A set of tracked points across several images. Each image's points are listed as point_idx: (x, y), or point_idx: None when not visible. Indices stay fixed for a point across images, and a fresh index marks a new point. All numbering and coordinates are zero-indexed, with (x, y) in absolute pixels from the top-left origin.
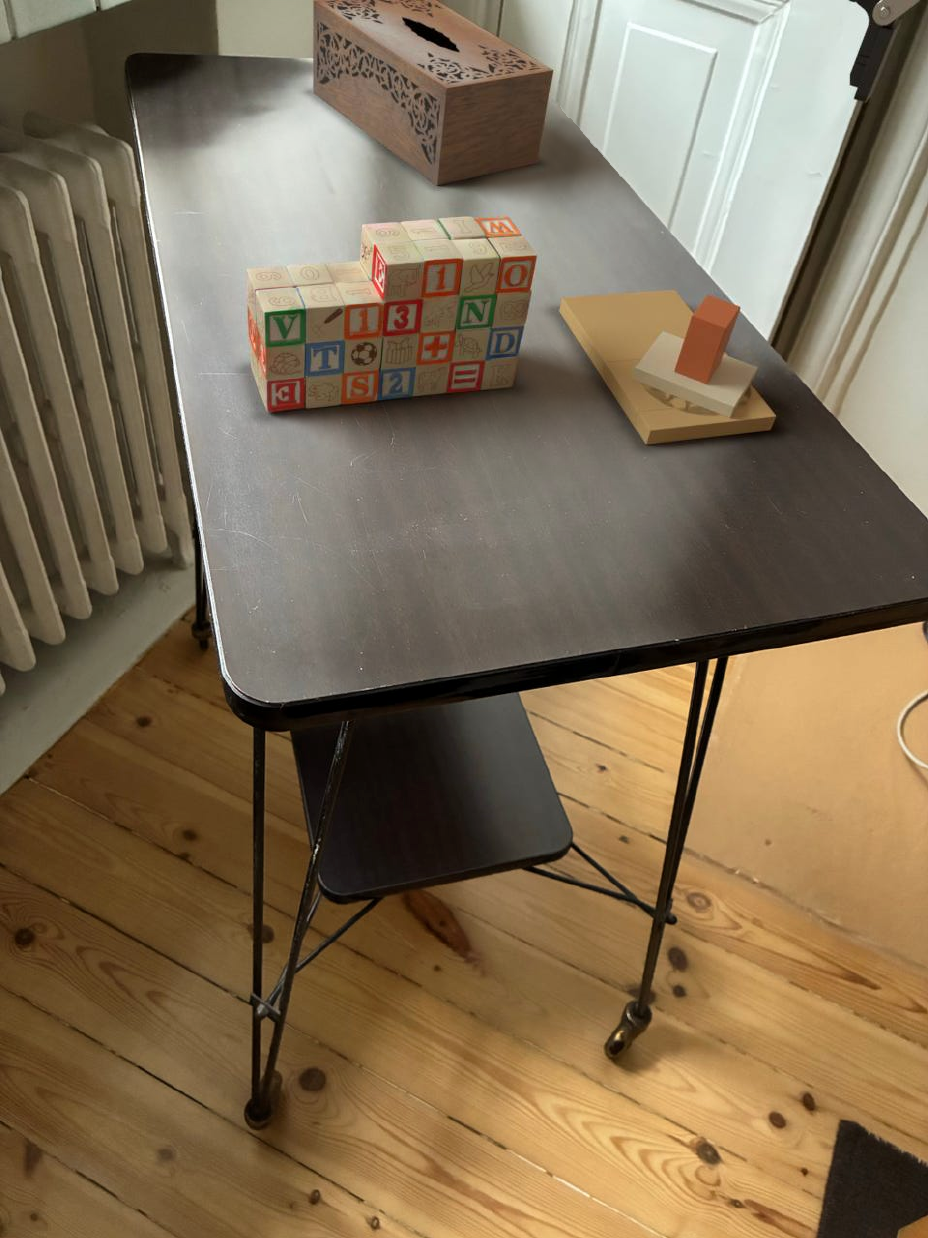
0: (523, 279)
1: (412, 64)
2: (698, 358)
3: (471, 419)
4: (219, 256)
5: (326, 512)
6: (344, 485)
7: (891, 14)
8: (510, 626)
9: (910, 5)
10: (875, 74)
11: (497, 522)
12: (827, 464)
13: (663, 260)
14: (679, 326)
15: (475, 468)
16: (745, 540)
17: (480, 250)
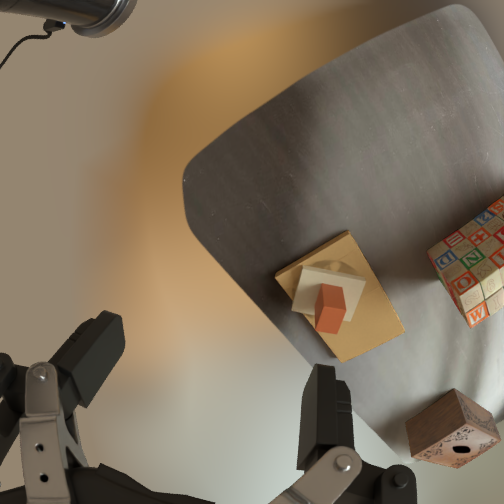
0: (458, 283)
1: (476, 429)
2: (332, 292)
3: (443, 212)
4: None
5: (487, 114)
6: (486, 136)
7: (330, 461)
8: (388, 56)
9: (304, 477)
10: (318, 390)
11: (416, 129)
12: (239, 255)
13: None
14: (338, 334)
15: (436, 170)
16: (278, 167)
17: (489, 283)
